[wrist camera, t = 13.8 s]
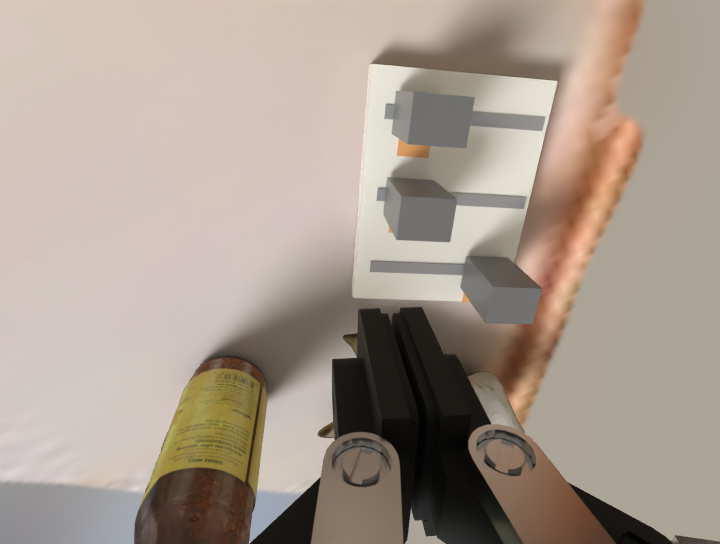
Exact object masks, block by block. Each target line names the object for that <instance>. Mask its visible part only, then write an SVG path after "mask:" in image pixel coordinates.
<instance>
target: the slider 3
mask: <svg viewBox="0 0 720 544" xmlns="http://www.w3.org/2000/svg"><path fill="white" fill-rule="evenodd" d="M460 288H461V289H462V291H463V292H464V294H465V295H466V296H467V298H468V299H469V301H470V302H471V303H472V305H473V306H474V308H475V309H476V310H477V312H478V313H479V315H480V316H481V317H482V319H483V320H484V322H485V323H506V324H533V321H534V317H535V313H536V310H537V306H538V302H539V299H540V295H541V291H542V288H541V287H540V286H539V285H538V284H537V283H535V282H534V281H533V280H532V279H531V278H530V277H529V276H528V275H527V274H525V273H524V272H523V271H522V270H521V269H520V268H519V267H518V266H517V265H515V264H514V263H513V262H512V261H511V260H510V259H509V258H508V257H484V256H466V259H465V264H464V269H463V275H462V280H461V285H460Z"/></svg>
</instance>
